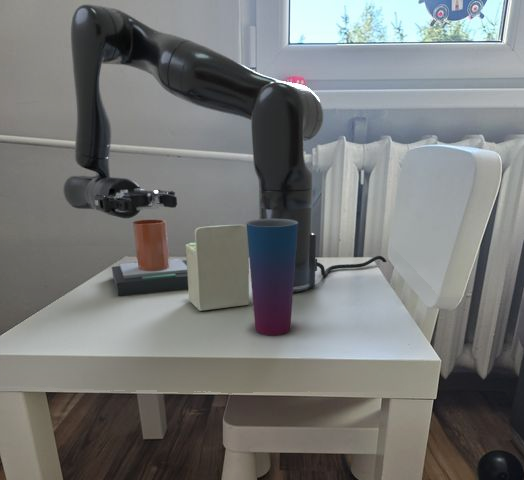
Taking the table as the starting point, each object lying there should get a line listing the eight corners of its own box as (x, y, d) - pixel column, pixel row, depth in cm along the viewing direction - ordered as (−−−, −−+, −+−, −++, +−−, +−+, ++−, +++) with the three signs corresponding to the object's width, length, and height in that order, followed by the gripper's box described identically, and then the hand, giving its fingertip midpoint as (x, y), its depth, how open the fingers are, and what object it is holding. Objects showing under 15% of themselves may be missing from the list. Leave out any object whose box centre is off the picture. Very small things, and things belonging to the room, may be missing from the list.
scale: (187, 271, 103) (186, 257, 102) (201, 287, 92) (200, 271, 91) (113, 278, 99) (111, 263, 98) (118, 296, 88) (116, 279, 86)
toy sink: (234, 293, 88) (232, 217, 83) (250, 305, 82) (248, 224, 76) (187, 299, 85) (182, 221, 80) (200, 312, 79) (194, 228, 73)
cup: (300, 323, 73) (302, 219, 68) (290, 339, 67) (291, 227, 62) (256, 319, 75) (254, 217, 69) (242, 335, 69) (239, 225, 63)
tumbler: (167, 262, 98) (163, 218, 94) (172, 269, 93) (168, 222, 89) (136, 265, 96) (131, 220, 93) (140, 272, 91) (134, 225, 88)
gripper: (78, 179, 95) (111, 183, 83) (147, 175, 103) (186, 178, 91) (85, 220, 98) (117, 229, 86) (151, 212, 106) (189, 220, 94)
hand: (152, 203), depth 88 cm, fingers open, 8 cm apart
